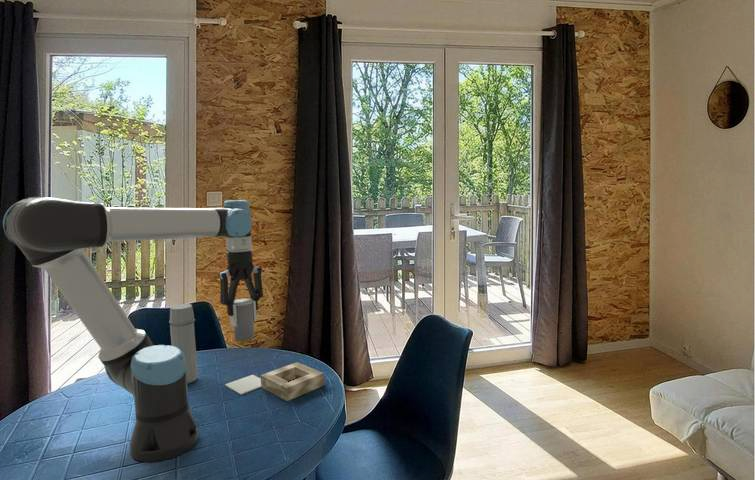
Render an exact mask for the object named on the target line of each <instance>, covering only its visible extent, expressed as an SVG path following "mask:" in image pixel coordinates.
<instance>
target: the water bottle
mask: <svg viewBox="0 0 755 480" xmlns="http://www.w3.org/2000/svg"><path fill="white" fill-rule="evenodd" d="M194 315H195V314H194V309H193V305H192V304H190V303H180V304H175V305H172V306H170V308H169V321H168V323H169V328H170V329H169V331H170V333H169V334H170V342H171V343H170V344H171V346H175V347H177V348H179V349H180V350H181V351H182V352H183V353H184V356H185V361H186V366H187V367H186V375H187V385H188V384H191V383H193V382H195V381H196V380H197V379H198V377H199V375H198V362H197V348H196V337H195V336H196V335H195V334H196V333H195V321H196V319H195V316H194Z"/></svg>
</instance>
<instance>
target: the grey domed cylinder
mask: <svg viewBox="0 0 755 480" xmlns="http://www.w3.org/2000/svg"><path fill="white" fill-rule="evenodd" d="M233 305H236V313H237V326H236V327H235V326H233V334H234V340H235V341H237V342H247V341H250V340H254V338H255V325H254V320H253V302H252V299H251V298H237V299H235V300H234V304H233Z"/></svg>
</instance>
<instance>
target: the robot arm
mask: <svg viewBox="0 0 755 480" xmlns="http://www.w3.org/2000/svg"><path fill="white" fill-rule="evenodd" d="M250 207H251V206H250V203H249V201H248V200H245V199H237V200H236V199H235V200H233V199H231V200H225V201H224V202H223V206H222V207H201V208H200V207H196V208H195V207H112V206H111V207H110V206H109V207H108V206H106V205H105V204H103V203H102V202H88V201H87V202H86V201H77V200H71V199H64V198H58V197H54V196H53V197H51V196H50V197H48V196H47V197H46V196H45V197H43V196H29V197H28V198H24V199H21V200H19V201H17V202H15V203H14V204H13V205H11V206H10V207H9V208H8V209H7V211H6V212H5V214H4V216H3V219H2V227H3V228H2V229H3V231H4V235H5V236H6V237H7V239H8V240H9V241H10V242H12V244H13V245H16V246H17V247H18V249H20V251H21V252H22V254H23V255H24V257H25V258H26V259H27V260H28V262H29V263H30V265H31V266H32V267H34V268H37V269H39V268H40V269H43V270H45V272H46V274H47V275H48V277H49V278H50V279H51V280H52V281H53V283H54V285H55V287H57V289H58V290H59V292H60V293H61V295H62V296H63V298H64V299H65V301H66V302H67V303H68V305H69V306H70V307H71V309H72V310H73V311H74V313H75V314H76V316H77V317H78V318H79V320H80V321H81V322H82V324H83V326H84V327H85V328H86V330H87V331H88V333H89V334H90V336H91V337H92V338H93V340H94V342H95V343H97V345H98V347H99V348H100V350H99V352H98V355H97V356H98V359H99V361H100V362H101V364H102V365H103V366H104V370H105V373H106V375H107V377H108V379H110V381H111V382H113V384H115V385H117V386H119V387H121V388H122V389H124V390H125V391H127V392H128V393H130V394H131V395H132V396H133V400H134V411H135V412H134V413H135V424H134V427H133V430H132V434H131V438H130V442H129V451H130V453H129V454H130V456H131V458H133V460H136V461H138V462H144V463H155V462H162V461H165V460H169V459H173V458H175V457H177V456H180V455H182V454H183V453H186V452H188V451H189V450H190V449H192V448H193V447H194V446H195V444H196V443H197V442H198V440H199V429H198V425H197V423H196V421H195V418H194V416H193V414H192V412H191V410H190V406H189V394H188V384H187V375H186V367H187V366H186V361H185V356H184V353H183V352H182V351H181V350H180V349H179V348H177V347H175V346H171V345H165V344H158V345H154V343H153V342H152V341H151V338H150V336H148V334H147V333H146V332H145V330H144V329H142V328H141V329H139V328H135V326H134V325H133V324H132V322H131V320H130V318H129V317H128V316H127V314H126V312H125V311H124V310H123V307H122V306H121V305H120V303H119V302H118V301H117V299H116V297H115V296H114V294H113V293H112V291H111V289H110V288H109V287H108V285H107V283H106V282H105V281H104V278H103V277H102V276H101V274H100V273H99V271H98V269H97V268H96V267H95V265H94V263H93V262H92V260H91V259H90V257H89V255H88V254H87V253H86V251H85V249H88V248H102V247H103V248H104V247H105V246H106V245H107V244H108V243H110V242H111V243H112V242H130V241H132V242H134V241H154V240H173V239H174V240H175V239H193V238H195V239H197V238H198V239H199V238H223V237H224V238H225V243H226V245H225V246H226V250H227V252H226V259H227V269H226V270H223V271H220V272H218V277H219V281H220V287H219V288H220V289H219V291H220V295H219V296H220V297H219V298H220V300H219V301H220V302H219V303H220V304H221V305H224V306H226V311H227V313H226V314H227V316H229V318H230V319H229V320H230V321H229V322H230V326H232V327H234V326H235V327H236V326H237V313H236V305H233V304H234V300H236V295H237V290H238V286H239V284H240V281H242V280H243V281H244V282H245V286H246V288H247V291H248V294H249V297H250V299H252V302H253V320H254V322H257V311H258V309H259V301H260V298H263V297H264V291H263V284H262V283H263V281H262V270H263V269H262V267H260V266H255V265H254V264H253V261H254V259H253V258H254V256H253V251H252V247H253V245H252V244H253V242H252V226H253V220H252V216H251V214H252V213H251V209H250ZM252 273H253V276H252ZM229 276H230V280H228V278H229ZM252 277H253V278H252ZM229 282H230V285H229Z"/></svg>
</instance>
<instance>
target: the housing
mask: <svg viewBox="0 0 755 480" xmlns="http://www.w3.org/2000/svg"><path fill="white" fill-rule="evenodd" d="M324 375H325V374H324V372H321V371H320V370H317V369H315V368H312V367H310V366H307V365H305V364H302V363H300V362H299V361H298V362H297V361H296V362H294V363H290V364H287V365H286V366H283V367H279V368H276V369H274V370H272V371H268V372H266V373H263V374H260V378H261V388H260V389H264V390H265V391H267V392H269V393H271V394H273V395H275V396H276V397H279V398H280V399H282V400H284V401H286V402H289V401H291V400H293V399H295V398H297V397H300V396H303V395H305V394H307V393H310V392H311V391H315V390H316V389H320V388H321V387H323V386H325V376H324ZM293 379H294V380H293ZM290 380H291V381H290ZM288 381H289V382H288Z"/></svg>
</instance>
